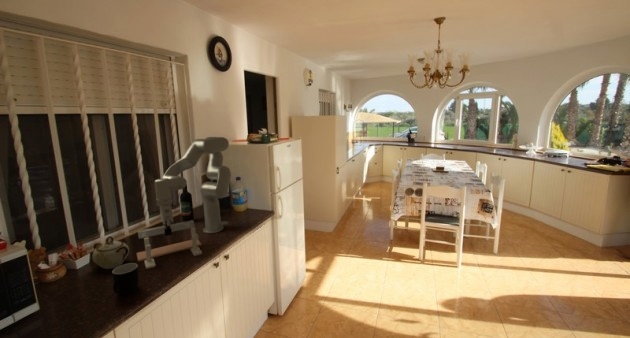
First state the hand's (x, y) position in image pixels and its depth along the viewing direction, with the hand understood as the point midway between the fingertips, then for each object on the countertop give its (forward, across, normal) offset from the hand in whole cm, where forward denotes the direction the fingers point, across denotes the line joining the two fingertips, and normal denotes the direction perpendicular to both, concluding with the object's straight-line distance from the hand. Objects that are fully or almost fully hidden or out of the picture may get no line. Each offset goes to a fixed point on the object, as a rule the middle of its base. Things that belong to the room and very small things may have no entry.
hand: (167, 233), depth 158 cm
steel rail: (-1, 0, 0) cm, 1 cm away
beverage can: (+9, +45, -33) cm, 57 cm away
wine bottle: (+9, +40, -18) cm, 45 cm away
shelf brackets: (+10, -12, 0) cm, 15 cm away
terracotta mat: (+10, 0, 0) cm, 10 cm away
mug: (+10, -33, +22) cm, 41 cm away
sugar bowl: (+10, -1, +26) cm, 28 cm away
